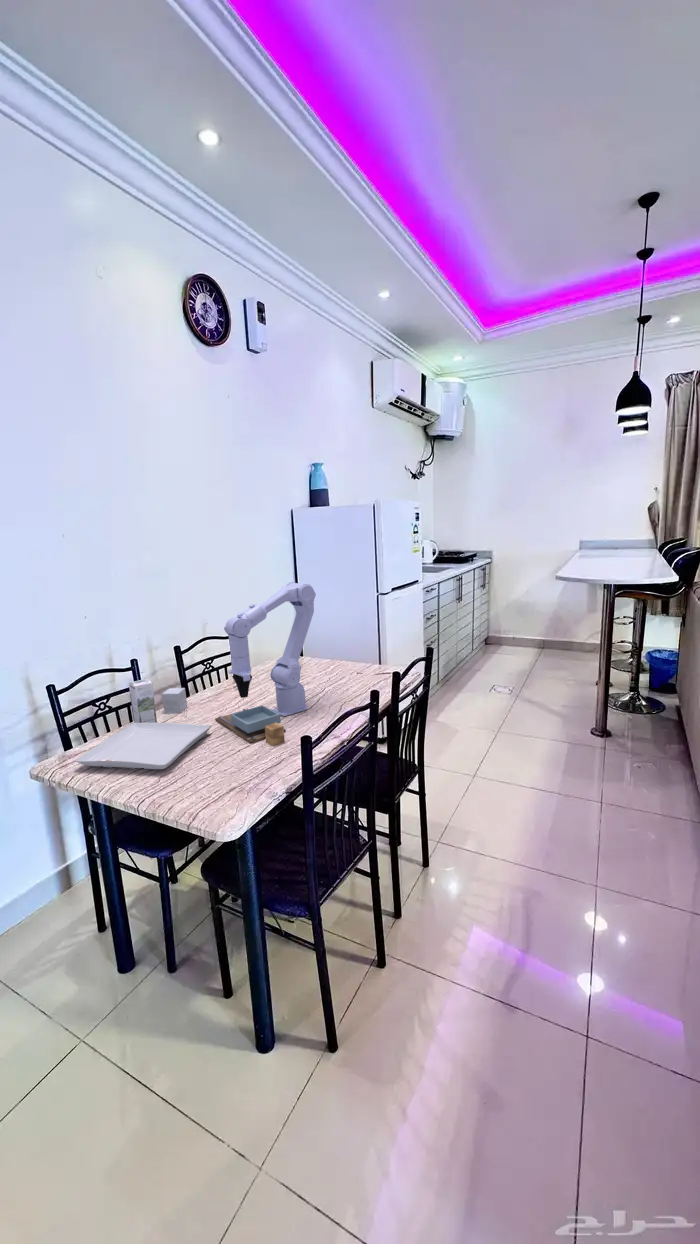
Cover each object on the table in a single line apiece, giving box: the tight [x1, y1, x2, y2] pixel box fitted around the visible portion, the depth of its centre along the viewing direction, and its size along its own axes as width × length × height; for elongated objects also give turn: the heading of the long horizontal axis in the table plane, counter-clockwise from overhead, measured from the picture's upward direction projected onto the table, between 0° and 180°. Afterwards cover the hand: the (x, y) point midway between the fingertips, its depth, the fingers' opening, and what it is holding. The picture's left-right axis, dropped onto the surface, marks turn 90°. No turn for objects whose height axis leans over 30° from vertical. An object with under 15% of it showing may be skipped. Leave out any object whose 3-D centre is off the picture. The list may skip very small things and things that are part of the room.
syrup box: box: [128, 678, 158, 723], centre depth 168 cm, size 6×6×14 cm
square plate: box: [75, 722, 212, 770], centre depth 147 cm, size 27×27×4 cm
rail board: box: [214, 708, 287, 745], centre depth 162 cm, size 12×25×1 cm, turn 38°
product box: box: [161, 687, 188, 714], centre depth 179 cm, size 6×6×7 cm
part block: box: [265, 722, 286, 747], centre depth 149 cm, size 4×4×5 cm
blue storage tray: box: [230, 704, 282, 735], centre depth 158 cm, size 11×11×4 cm
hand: (244, 696), depth 162 cm, fingers closed
